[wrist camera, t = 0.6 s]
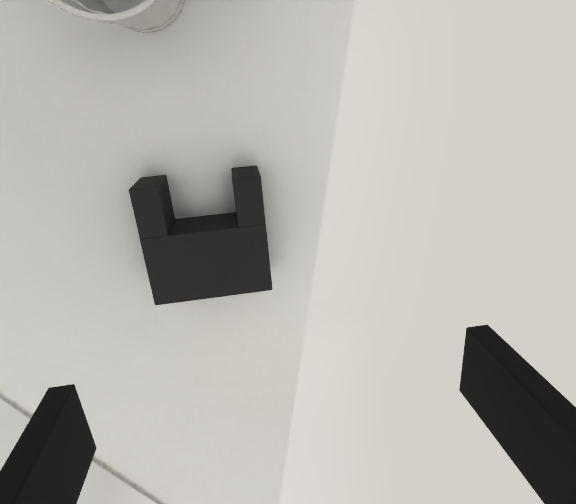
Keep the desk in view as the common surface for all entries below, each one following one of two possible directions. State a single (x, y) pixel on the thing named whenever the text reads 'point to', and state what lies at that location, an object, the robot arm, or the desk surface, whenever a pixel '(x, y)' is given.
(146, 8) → the cup
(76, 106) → the desk surface
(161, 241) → the notch pad
